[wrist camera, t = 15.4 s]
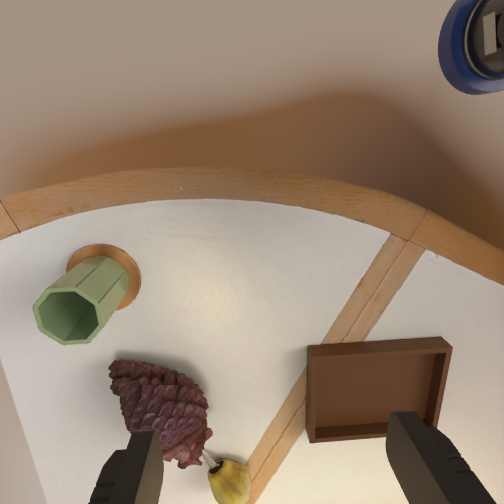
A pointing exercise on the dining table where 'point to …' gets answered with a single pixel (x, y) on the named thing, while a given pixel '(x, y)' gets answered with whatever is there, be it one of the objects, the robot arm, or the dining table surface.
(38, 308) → the cup
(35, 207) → the dining table surface
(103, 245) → the coaster
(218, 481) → the fruit
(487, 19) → the robot arm
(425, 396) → the tray
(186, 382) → the pine cone
